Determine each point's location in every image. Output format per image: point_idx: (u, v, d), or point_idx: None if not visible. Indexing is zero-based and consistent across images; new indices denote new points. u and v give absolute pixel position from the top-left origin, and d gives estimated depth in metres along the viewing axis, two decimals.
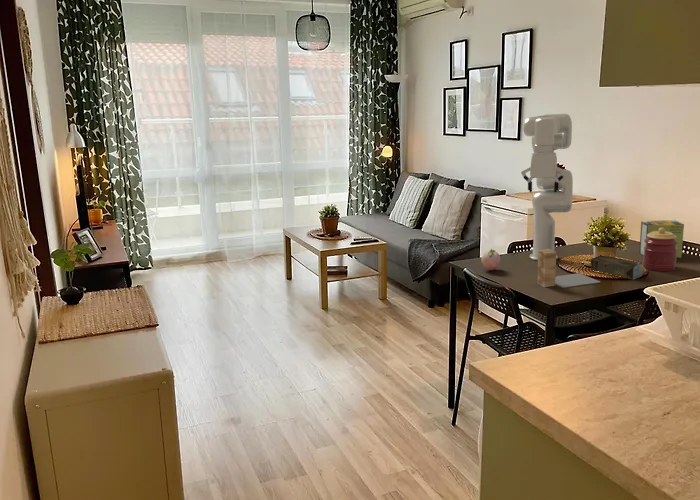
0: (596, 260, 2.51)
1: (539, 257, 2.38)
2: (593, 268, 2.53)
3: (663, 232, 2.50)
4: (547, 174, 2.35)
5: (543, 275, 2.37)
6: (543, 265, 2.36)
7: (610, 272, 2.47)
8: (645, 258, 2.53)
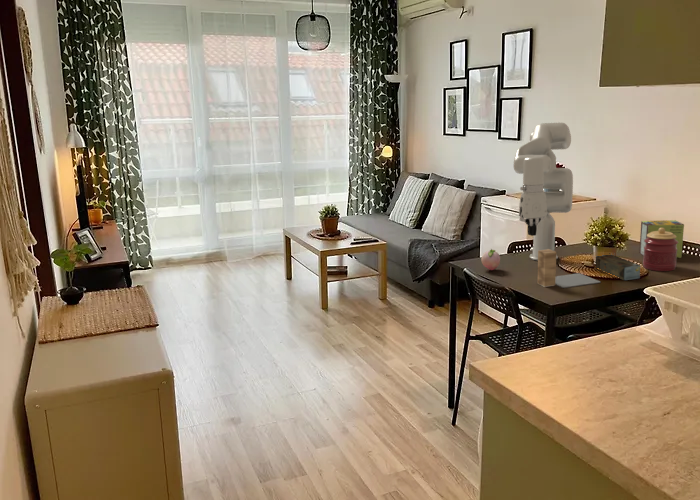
0: (599, 258, 2.54)
1: (539, 257, 2.38)
2: (597, 266, 2.56)
3: (663, 232, 2.50)
4: None
5: (543, 275, 2.37)
6: (543, 265, 2.36)
7: (608, 271, 2.48)
8: (645, 258, 2.53)
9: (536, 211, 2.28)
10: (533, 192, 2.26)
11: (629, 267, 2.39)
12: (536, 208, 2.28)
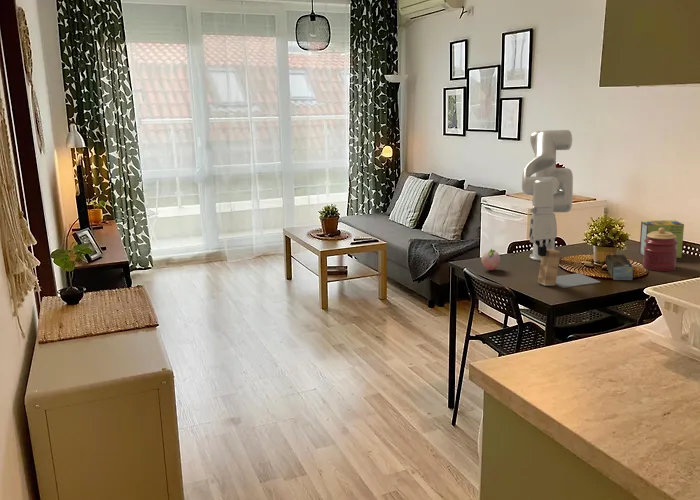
0: (606, 257, 2.55)
1: None
2: None
3: (663, 232, 2.50)
4: None
5: (545, 273, 2.37)
6: (546, 263, 2.36)
7: (608, 270, 2.50)
8: (645, 258, 2.53)
9: (546, 233, 2.31)
10: (543, 214, 2.29)
11: (619, 267, 2.40)
12: (546, 230, 2.31)
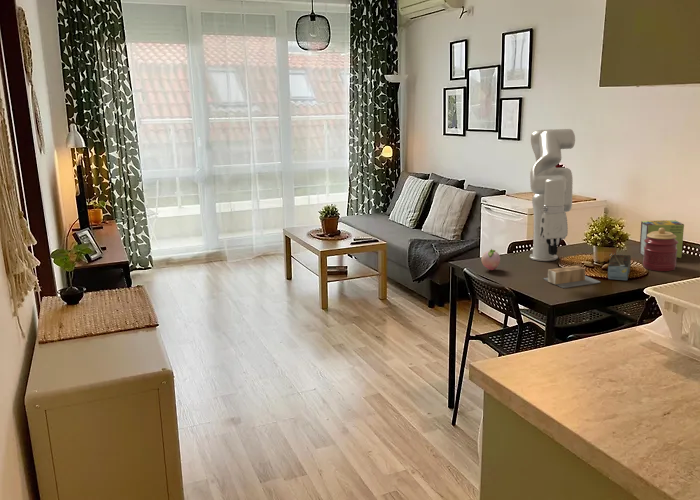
0: (611, 256, 2.55)
1: (573, 266, 2.43)
2: None
3: (663, 232, 2.50)
4: None
5: (564, 270, 2.39)
6: (572, 269, 2.40)
7: None
8: (645, 258, 2.53)
9: (557, 231, 2.33)
10: (554, 213, 2.30)
11: (614, 267, 2.41)
12: (557, 228, 2.32)
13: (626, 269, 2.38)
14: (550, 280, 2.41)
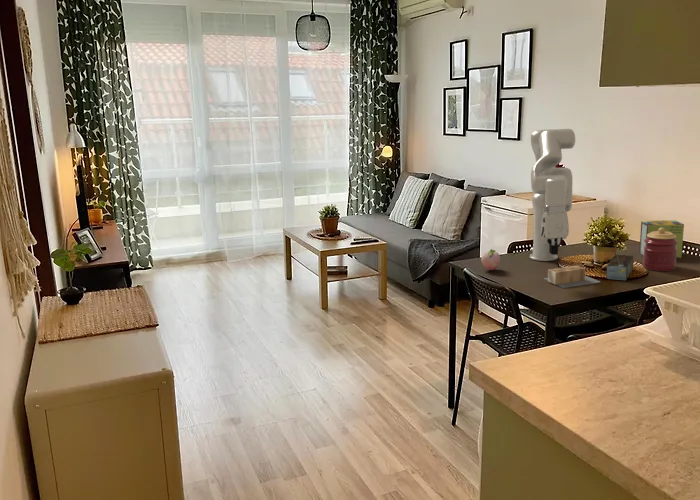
0: None
1: (573, 266, 2.43)
2: None
3: (663, 232, 2.50)
4: None
5: (564, 270, 2.39)
6: (572, 269, 2.40)
7: None
8: (645, 258, 2.53)
9: (558, 231, 2.33)
10: (555, 213, 2.30)
11: (612, 266, 2.41)
12: (558, 228, 2.32)
13: (624, 269, 2.38)
14: (550, 280, 2.41)
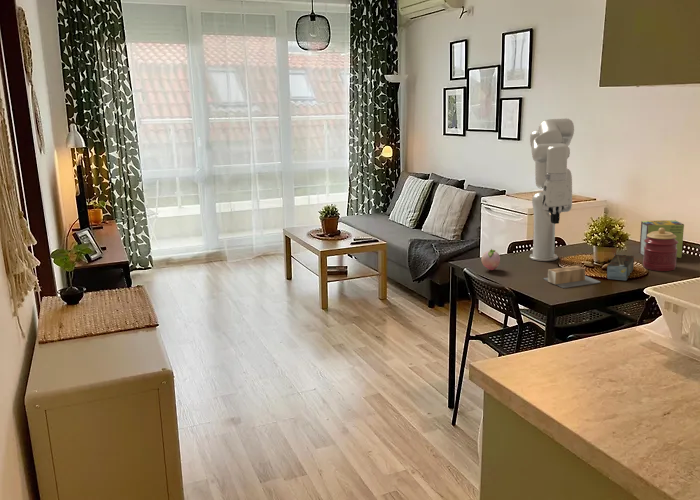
0: (614, 256, 2.55)
1: (573, 266, 2.43)
2: None
3: (663, 232, 2.50)
4: None
5: (564, 270, 2.39)
6: (572, 269, 2.40)
7: None
8: (645, 258, 2.53)
9: (559, 199, 2.30)
10: (556, 180, 2.28)
11: (613, 266, 2.41)
12: (559, 196, 2.30)
13: (625, 269, 2.38)
14: (550, 280, 2.41)
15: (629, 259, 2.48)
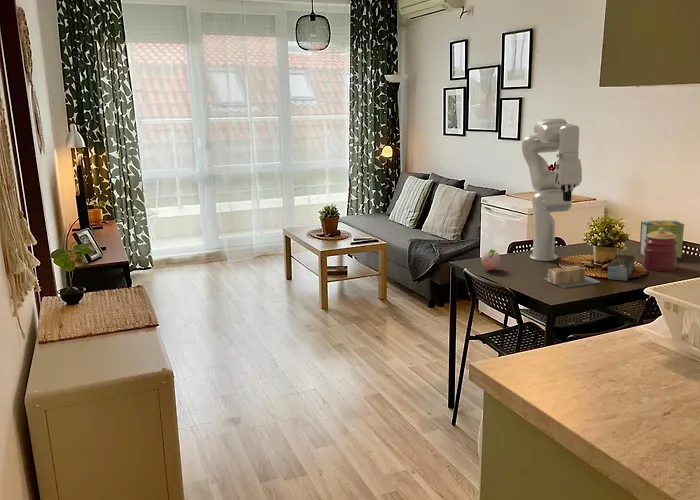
0: None
1: (573, 266, 2.43)
2: None
3: (663, 232, 2.50)
4: None
5: (564, 270, 2.39)
6: (572, 269, 2.40)
7: None
8: (645, 258, 2.53)
9: (571, 177, 2.38)
10: (569, 159, 2.36)
11: (613, 267, 2.41)
12: (572, 174, 2.38)
13: (626, 269, 2.38)
14: (550, 280, 2.41)
15: (630, 259, 2.47)
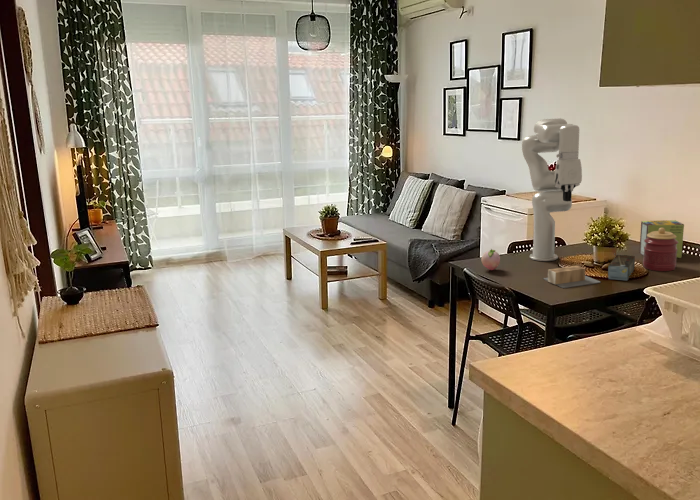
0: (615, 256, 2.55)
1: (573, 266, 2.43)
2: None
3: (663, 232, 2.50)
4: None
5: (564, 270, 2.39)
6: (572, 269, 2.40)
7: None
8: (645, 258, 2.53)
9: (571, 177, 2.38)
10: (569, 159, 2.36)
11: (614, 267, 2.41)
12: (572, 174, 2.38)
13: (626, 269, 2.38)
14: (550, 280, 2.41)
15: (630, 259, 2.47)
